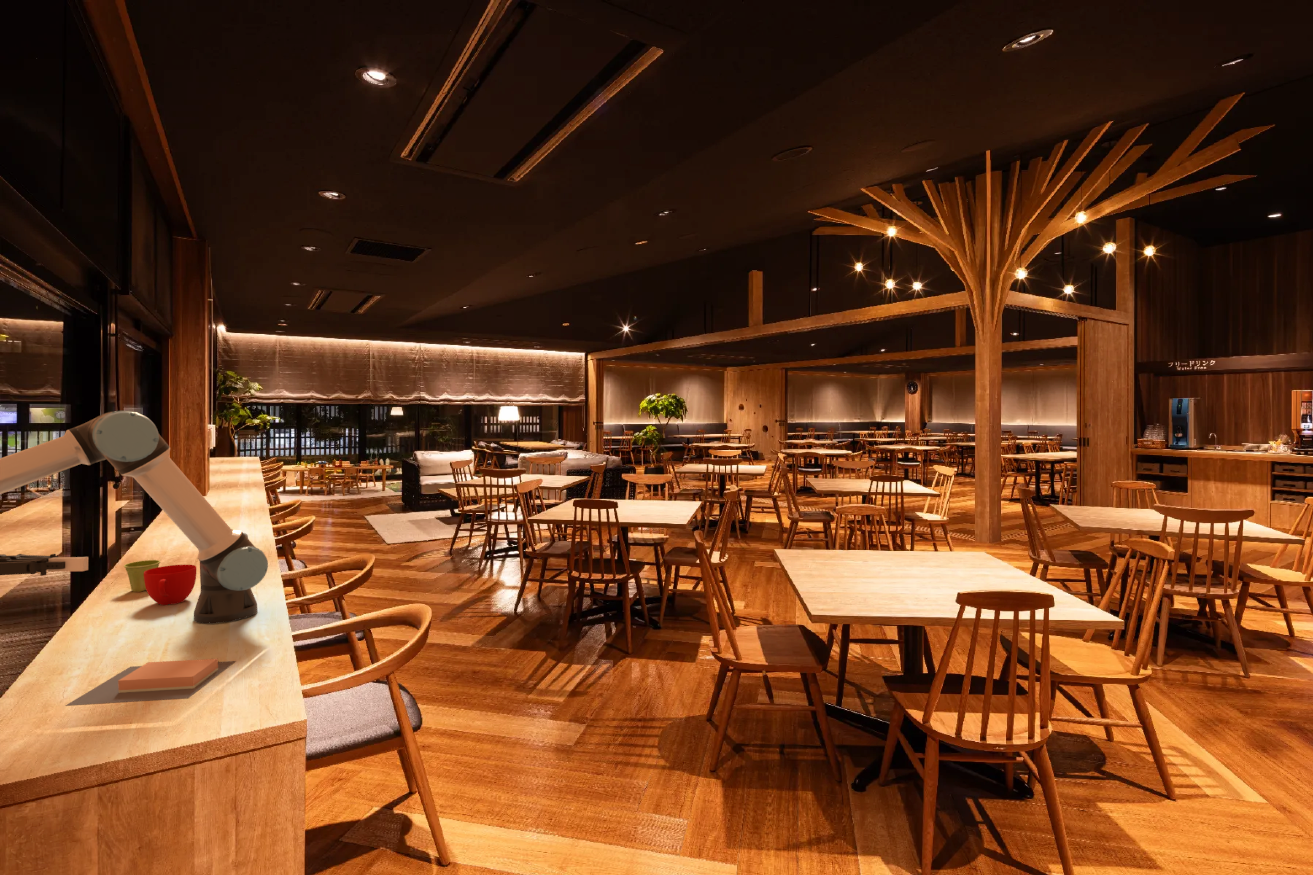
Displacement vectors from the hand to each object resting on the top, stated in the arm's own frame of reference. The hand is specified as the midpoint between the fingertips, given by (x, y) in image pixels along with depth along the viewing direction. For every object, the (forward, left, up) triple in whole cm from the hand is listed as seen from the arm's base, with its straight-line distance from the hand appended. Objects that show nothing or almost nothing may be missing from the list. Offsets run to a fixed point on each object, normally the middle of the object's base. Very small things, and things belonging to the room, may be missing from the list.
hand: (85, 563), depth 141 cm
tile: (-7, +7, -24) cm, 26 cm away
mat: (-11, +10, -26) cm, 30 cm away
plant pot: (-10, -87, -26) cm, 92 cm away
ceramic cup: (-16, -62, -26) cm, 69 cm away
